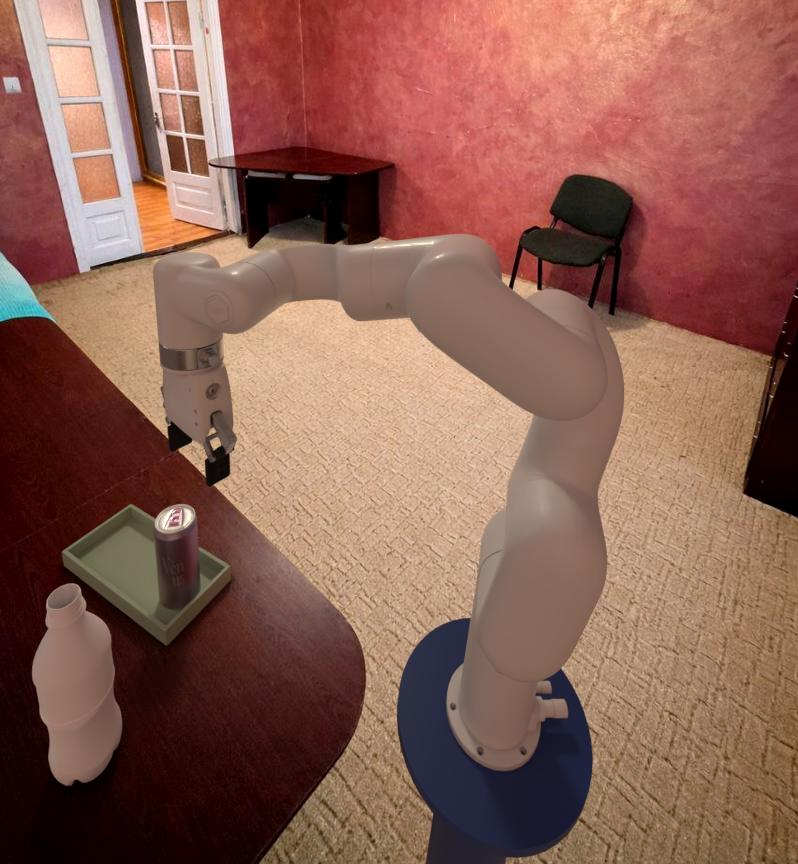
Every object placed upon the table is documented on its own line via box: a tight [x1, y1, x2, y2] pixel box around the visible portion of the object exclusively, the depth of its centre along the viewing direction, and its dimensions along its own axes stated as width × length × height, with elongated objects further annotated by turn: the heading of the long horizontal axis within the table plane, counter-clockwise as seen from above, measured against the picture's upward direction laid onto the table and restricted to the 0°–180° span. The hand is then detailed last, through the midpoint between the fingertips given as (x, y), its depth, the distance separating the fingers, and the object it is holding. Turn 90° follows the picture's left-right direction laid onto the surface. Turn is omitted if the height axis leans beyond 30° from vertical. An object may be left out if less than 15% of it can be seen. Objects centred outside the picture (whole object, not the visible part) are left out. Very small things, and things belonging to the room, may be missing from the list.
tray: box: [61, 503, 232, 647], centre depth 79 cm, size 25×12×3 cm, turn 62°
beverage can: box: [153, 503, 201, 610], centre depth 74 cm, size 6×6×15 cm
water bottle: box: [31, 583, 123, 787], centre depth 54 cm, size 7×7×25 cm
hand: (198, 462), depth 66 cm, fingers open, 9 cm apart
